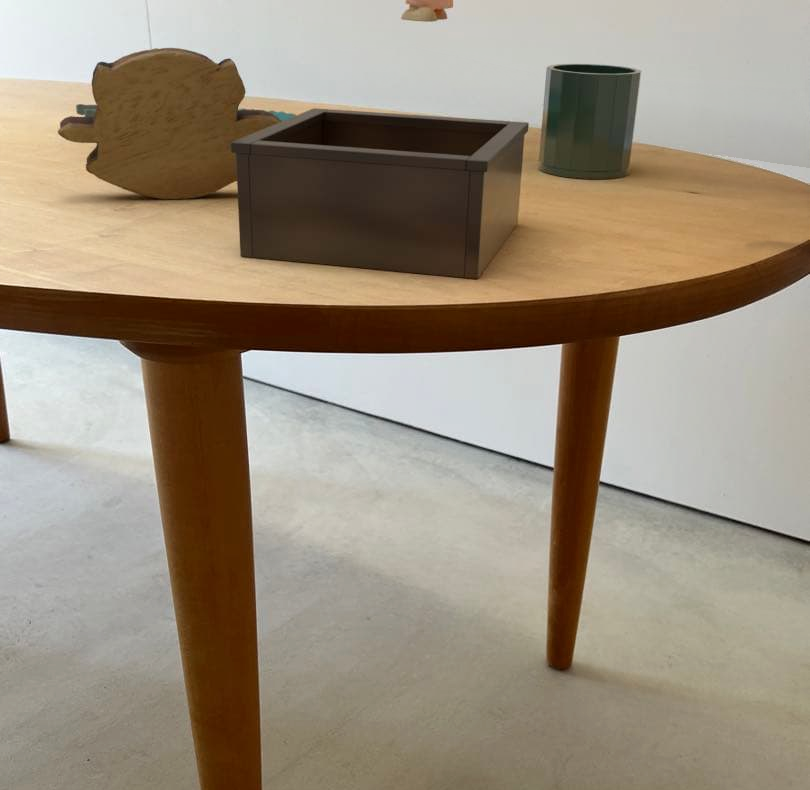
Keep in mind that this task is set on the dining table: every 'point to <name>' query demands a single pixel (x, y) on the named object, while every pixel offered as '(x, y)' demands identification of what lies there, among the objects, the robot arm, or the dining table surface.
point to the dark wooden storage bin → (380, 190)
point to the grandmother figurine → (427, 10)
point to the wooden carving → (166, 123)
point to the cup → (588, 120)
